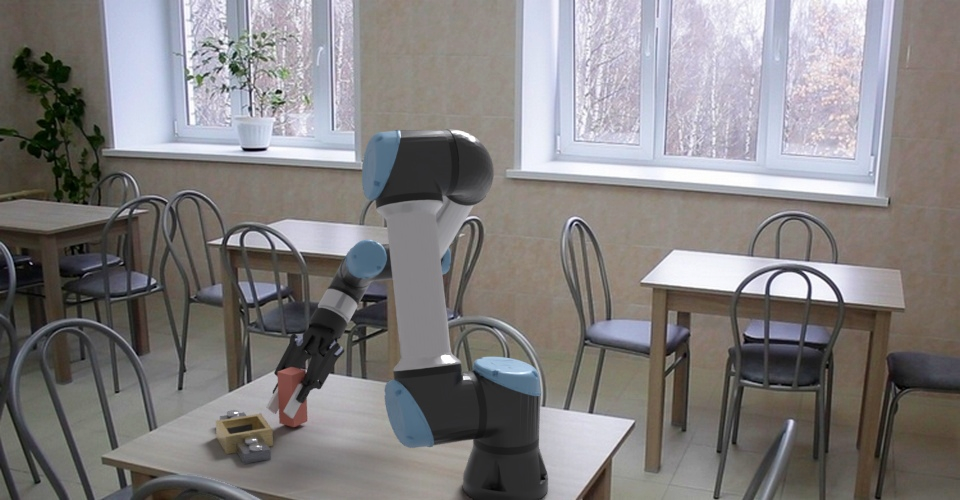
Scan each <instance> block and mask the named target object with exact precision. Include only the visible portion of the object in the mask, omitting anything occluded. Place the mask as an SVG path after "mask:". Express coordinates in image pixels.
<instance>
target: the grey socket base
mask: <svg viewBox="0 0 960 500" xmlns="http://www.w3.org/2000/svg"><path fill="white" fill-rule="evenodd" d="M215 431H216V432H215V434H216V435H215V437H216V439H217V441H218V442H219V444H220V446H221V448H222V449H223V451H224V453H225V454H226V455H229V454H235V453H237V455H238V456H239V458H240V460H241V461H242V463H243V464H244V465H246V464H252V463H257V462H263V461H269V460H271V459H272V457H271V455H272V454H271V452H272V451H271V448H270V447H273V446H274V439H273V434H274V433H273V428H272V426H271V425H270V423H268V422H267V420H266V418H265V417H264V416H263V414H262V413H256V414H250V415H247V414H246V413H245V412H244V411H243V412H240V411H239V410H238V409H232V410H229V411H226V414H225V415H220V416H219V420H215Z"/></svg>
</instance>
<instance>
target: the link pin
mask: <svg viewBox="0 0 960 500" xmlns="http://www.w3.org/2000/svg"><path fill="white" fill-rule="evenodd" d="M306 372H307V369H306V370H305V369H303V368H300V369H299V368H294V367H289V368H287V369H284V370H281V371H278V372H277V375H278V377H277V383H278V399H279V409H278V419H279V420H278V421H279V424H281V425H284V426H288V427H291V428H295V427H298V426H300V425H302V424H305V423H306V422H308V403H307V402H308V399H307V398H308V397H307V398H306V400H305V402H304V403H301V405H300V407H299V408H298V410H297V412H296V414H295V416H294V418H293V419H292V418H290V417H288V416H287V415H286V414H285V413H284V412H283V411H284V409H285V407H286V406H287V404H288V402H289V400H290V398H291V396H292V395H293V393H294V391H295V389H296V387H297V385H298V384H302V383H301V381H302V380H304V377H305V374H306ZM302 385H303V384H302Z"/></svg>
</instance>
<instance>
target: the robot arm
mask: <svg viewBox="0 0 960 500" xmlns="http://www.w3.org/2000/svg"><path fill="white" fill-rule="evenodd" d="M362 162H363V163H362V170H361V171H362V172H361V175H362V176H361V179H362V180H361V183H362V185H361V186H362V190H363V193H364V194H363V195H364V198H366V199H367V200H370V201H371V202H372V201H373V202H374V201H375V207H376V210H375V211H376V212H377V214H379V215H380V216H381V217H383V218H384V220H385V221H386V227H387V240H388V243H383V244H382V243H380V242H378V241H376V240H373V239H362V240H359V241H358V242H357V243H355V245H354V246H353V247H351V248H350V249H349V251H347V253H346V255H345V256H344V257H343V258H342V260H341V262H340V265H339V267H338V269H337V270H336V272H335V274H334V276H333V278H332V279H331V281H330V284H329V286H328V287H327V289H326V290H325V292H324V294H323V296H322V297H321V299H320V300H319V303H318V305H317V308H315V310H314V312H313V314H312V315H311V317H310V319H309V320H308V328H307V329H306V330H305V331H304V332H303V334H300V335H297V334H296V333H292V334H291V335H290V337H289V338H290V339H289V343H288V346H287V347H286V349H285V351H284V353H283V355H282V357H281V359H280V361H279V363H278V364H277V366H276V368H275V370H274V375H275V376H276V377H277V378H278V375H277V372H278V371H281V370H284V369H287V368H289V367H294V368H299V369H302V368H303V366H304V365H305V363H306V362H307V360H309V363H308V366H307V369H306V374H305V377H304V380H302V381H301V383H302V384H303V385H302V384H298V385H297V387H296V389H295V391H294V393H293V395H292V396H291V398H290V400H289V402H288V404H287V406H286V407H285V409H284V411H283V412H284V413H285V414H286V415H287V416H288V417H290V418H292V419H293V418H294V416H295V414H296V412H297V410H298V408H299V407H300V405H301V403H304V402H305V400H306V398H308V396H309V394H310V393H311V391H313V390H314V389H315V390H316V389H317V390H320V389H322V388H323V386H324V384H325V383H326V380H327V378H328V376H329V375H330V373H331V371H332V369H333V368H334V366H335V364H336V362H338V359H339V358H340V357H341V356H342V355H343V354H344V353H345V349H344V348H343V346H342V345H340V343H338V340H340V339H341V338H342V336H343V335H344V333H345V331H346V329H347V327H348V323H349V322H351V319H352V317H353V315H354V314H355V312H356V310H357V308H358V306H359V304H360V303H361V300H362V299H363V297H364V295H365V294H366V291H367V290H368V288H369V287H370V285H371V284H372V283H373V282H376V281H377V282H379V281H390V280H392V285H393V293H394V294H393V295H394V296H393V297H394V304H395V314H396V315H395V316H396V323H397V324H396V325H397V333H398V342H399V352H400V359H399V361H398V362H397V364H396V365H395V366H394V368H393V379H390V380H389V381H387V382H386V384H385V386H384V405H385V410H386V414H387V418H388V421H389V424H390V426H391V429H392V431H393V433H394V435H395V438H396V439H397V440H398V442H399V443H400V444H401V445H403V446H404V447H407V448H409V449H411V448H412V449H415V448H425V447H426V448H433V446H439V445H445V444H451V443H459V442H464V441H471V440H473V441H472V443H473V444H472V448H471V451H470V454H469V457H468V460H467V463H466V466H465V469H464V471H463V475H462V488H463V491H464V493H465V494H466V495H467V496H469V498H471V499H473V500H540V499H542V498H543V497H544V496H546V494H547V493H548V490H549V473H548V471H547V468H546V465H545V462H544V459H543V458H544V457H543V455H542V453H541V449H540V420H541V419H540V417H541V413H540V412H541V396H542V391H541V378H540V374H539V372H538V369H536V367H534V366H533V365H531V364H529V363H528V362H525V361H522V360H519V359H516V358H510V357H503V356H483V357H479V358H476V359H475V360H474V361H473V364H472V370H468V371H463V367H462V361H461V359H459V358H458V357H456V356H455V355H454V354H453V353H452V349H451V340H450V331H449V324H448V323H449V322H448V315H447V313H448V312H447V305H446V297H445V286H444V279H443V276H444V275H445V274H447V273H448V272H449V271H450V268H451V263H452V253H451V249H450V246H451V245H452V243H453V241H454V239H455V237H456V236H457V234H458V233H459V231H460V229H461V227H462V226H463V224H464V223H465V221H466V219H467V217H468V216H469V214H470V213H471V211H472V209H473V207H474V206H477V205H478V204H480V203H481V202H483V200H484V199H485V198H486V197H487V195H488V193H490V189H491V188H492V185H493V181H494V176H495V170H494V169H495V168H494V164H493V160H492V157H491V155H490V153H489V151H488V149H487V147H486V146H485V145H484V144H483V142H481V141H480V140H479V139H478V138H477V137H476V136H474V135H472V134H471V133H468V132H466V131H463V130H460V129H457V128H456V129H455V128H450V129H448V128H446V129H411V130H410V129H395V130H390V131H381V132H376V133H375V134H373V135H372V136H371V137H370V138H369V141H367V144H366V147H365V151H364V156H363V161H362ZM266 409H267V410H269V412H271V413H272V414H274V415H277V413H278V412H279V399H278V382H276V384H275V386H274V388H273V390H272V396H271V397H270V400H269V401H268V403H267V404H266Z"/></svg>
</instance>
